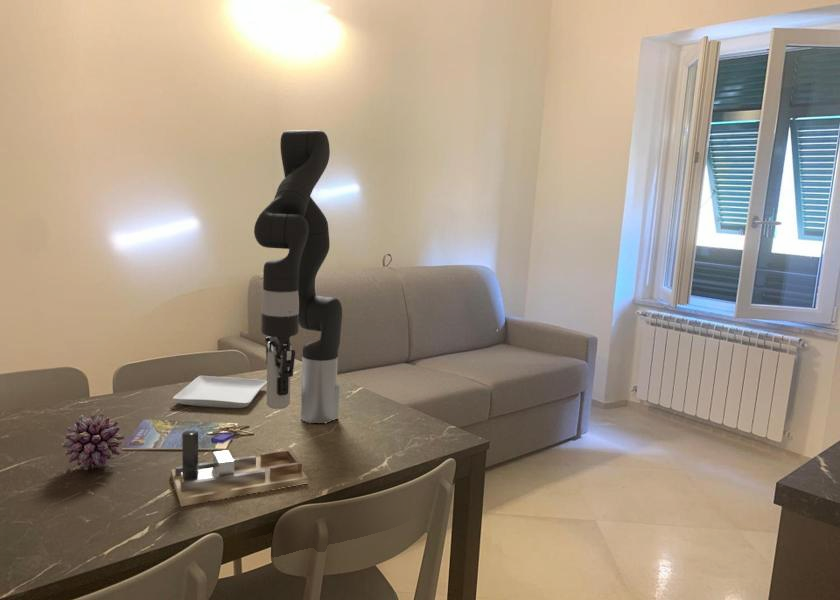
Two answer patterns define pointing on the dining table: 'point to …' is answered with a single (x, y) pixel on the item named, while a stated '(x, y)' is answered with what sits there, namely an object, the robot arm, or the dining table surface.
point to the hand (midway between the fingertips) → (278, 390)
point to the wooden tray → (242, 478)
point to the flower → (93, 441)
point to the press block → (190, 472)
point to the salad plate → (220, 392)
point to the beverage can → (275, 386)
